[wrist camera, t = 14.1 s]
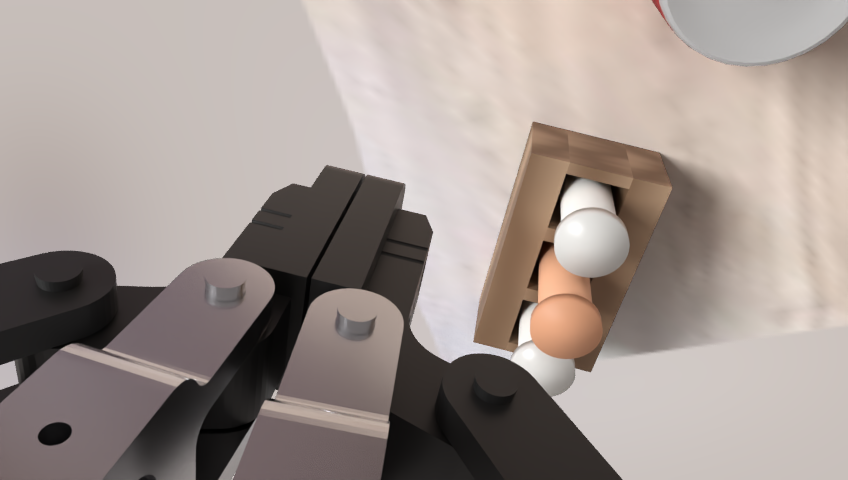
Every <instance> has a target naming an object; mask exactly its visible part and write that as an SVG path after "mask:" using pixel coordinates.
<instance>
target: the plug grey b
mask: <svg viewBox="0 0 848 480" xmlns="http://www.w3.org/2000/svg"><path fill="white" fill-rule="evenodd" d="M560 206H561V222H560V223H559V225H558V226H557V228H556V231H555V235H554V251H555V255H556V258H557V260H558V262H559V263H560V264H561V266H562V267H563V268H565V269H566V270H567V271H569V272H570V273H572V274H575V275H577V276H581V277H587V278H595V277H601V276H604V275H607V274H610V273H612V272H613V271H615V270H616V269H618V268H619V267H620V266H621V265H622V264H623V262H624V261H625V260H626V258H627V256H628V253H629V246H630V243H629V237H628V232H627V229H626V227H625V224H624V223H623V221H622V220H621V219H620V218H619V217H618V216H617V215H616V212H615V207H614V201H613V196H612V191H611V185H610V184H606V183H602V182H598V181H594V180H590V179H585V178H581V177H577V176H573V175H569V174H566V176H565V178H564V181H563V184H562V187H561V190H560Z"/></svg>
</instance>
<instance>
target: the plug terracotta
mask: <svg viewBox="0 0 848 480" xmlns="http://www.w3.org/2000/svg"><path fill="white" fill-rule="evenodd" d="M602 334H603V328H602V320H601V315H600V313H599V311H598V309H597V308H596V306H595V305H594V304H593V303H592V296H591V286H590V278H587V277H581V276H577V275H575V274H572V273H570V272H569V271H567V270H566V269H565V268H563V267H562V266H561V264H560V263H559V262H558V260H557V258H556V255H555V251H554V243H552V242H548V241H544V240H543V243H542V246H541V248H540V251H539V280H538V304H537V306H536V307H535V308H534V310H533V312H532V314H531V319H530V335H531V338H532V341H533V342H534V344H535V345H536V346H537V348H538V349H540V350H541V351H542V352H544V353H545V354H547V355H549V356H552V357H555V358H560V359H574V358H579V357H582V356H584V355H587V354H588V353H590V352H591V351H593V350H594V349H595V348H596V347H597V346H598V344H599V343H600V341H601V338H602Z"/></svg>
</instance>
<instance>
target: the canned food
mask: <svg viewBox="0 0 848 480" xmlns="http://www.w3.org/2000/svg"><path fill="white" fill-rule="evenodd" d="M652 1H653V3H654V4H655V6H656V7H657V9H658V10H659V12H660V13H661V15H662V16H663V18H664V19H665V21H666V22H667V24H668V25H669V26H670V28H671V29H672V30H673V31H674V33H675V34H676V35H677V36H678V37H679V38H680V39H681V40H682V41H683V42H684V43H685V44H687V45H688V46H689V47H690V48H692V49H693V50H695V51H697V52H698V53H700V54H702V55H704V56H705V57H707V58H709V59H712V60H715V61H718V62H721V63H725V64H729V65H737V66H746V67H747V66H764V65H770V64H774V63H779V62H783V61H787V60H789V59H792V58H794V57H797V56H799V55H802V54H804V53H807V52H808V51H810V50H812V49H813V48H815V47H817V46H818V45H820V44H822V43H823V42H825V41H826V40H827V39H829V38H830V37H831V36H832V35H833V34H835V33H836V32H837V31H838V30H839V29H841V28H842V27H843V26H844V25H845V24H846V22H847V21H848V0H652Z"/></svg>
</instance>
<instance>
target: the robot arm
mask: <svg viewBox="0 0 848 480" xmlns="http://www.w3.org/2000/svg"><path fill="white" fill-rule="evenodd" d="M404 193H405V184H404V183H400V182H396V181H392V180H387V179H383V178H379V177H375V176H371V175H367V176H366V177H365V174H362V173H358V172H354V171H349V170H345V169H341V168H337V167H333V166H328V165H327V166H326V167H325V168H324V169H323V171H322V172H321V173H320V175H319V176H318V178H317V179H316V181H315V182H314V184H313V185H312V187H311V188H310V187H305V186H301V185H297V184H291V185H289V186H287V187H285V188H283V189H281V190H279V191H277V192H274V193H273V194H272V195H271V196H270V197H269V199H268V200H267V201H266V202H265V204H264V205H263V206H262V208H261V211H259V212H258V213H257V214H256V215H255V217H254V218H253V219H252V223H249V224H248V226H247V227H246V228H245V229H244V231H243V232H242V234H241V235H240V236H239V237H238V238H237V240H236V241H235V242H234V244H233V245H232V246H231V248H230V249H229V250H228V251H227V253H226V254H225V255H224V256H223V258H216V259H209V260H205V261H201V262H198V263H196V264H193V265H191V266H190V267H188V268H186V269H185V270H184V271H183V272H181V273H180V274H179V275H178V276H177V277H176V278H175V279H174V280H173V281H172V282H171V283H170V284H169V285H168V286H167V287H136V286H117V284H116V274H115V270H114V268H113V266H112V265H111V264H110V263H109V262H108V261H106V260H105V259H103V258H101V257H99V256H97V255H94V254H90V253H86V252H80V251H56V252H48V253H43V254H39V255H35V256H30V257H26V258H22V259H18V260H14V261H10V262H6V263H2V264H0V365H2V364H5V363H8V362H11V361H14V360H15V366H16V371H17V376H18V382H19V384H16V385H14V386H10V387H8V388H5V389H2V390H0V480H231V479H232V477H233V476H234V478H233V480H622V479H621V477H620V476H619V475H618V474H617V473H616V472H615V470H614V469H613V468H612V467H611V466H610V465H609V464H608V462H607V461H606V460H605V459H604V458H603V457H602V455H601V454H600V453H599V452H598V451H597V450H596V449H595V447H594V446H593V445H592V444H591V443H590V442H589V440H587V438H586V437H585V436H584V435H583V434H582V432H581V431H580V430H579V429H578V428H577V427H576V425H575V424H574V423H573V422H572V421H571V420H570V419H569V418H568V416H567V415H566V414H565V413H564V412H563V410H562V409H561V408H560V407H559V406H558V405H557V404H556V402H555V401H554V400H553V399H552V398H551V397H550V395H549V394H548V393H547V392H546V391H545V390H544V389H543V387H542V386H541V385H540V384H539V383H538V382H537V380H536V379H535V378H534V377H533V376H532V375H531V374H530V373H529V372H528V371H526V370H525V369H524V368H523V367H521V366H520V365H518V364H516V363H515V362H512V361H510V360H508V359H506V358H503V357H500V356H496V355H491V354H470V355H465V356H462V357H459V358H458V359H456V360H454V361H453V362H452V363H448V362H446V361H444V360H442V359H440V358H439V357H437V356H435V355H433V354H432V353H430V352H429V351H428V350H426V349H425V348H424V347H423V346H422V345H421V344H420V343H419V342H418V341H417V339H416V338H415V337H414V335H413V333H412V331H411V329H410V325H411V321H412V317H413V314H414V310H415V306H416V303H417V299H418V295H419V291H420V287H421V282H422V278H423V273H424V269H425V265H426V260H427V256H428V251H429V247H430V243H431V238H432V234H433V231H432V229H431V226H430V224H429V222H428V219H427V217H426V215H422V214H418V213H414V212H409V211H405V210H401V209H402V203H403V198H404ZM275 389H276V390H278V392H277V395H276V397H275V399H271V397H272V395H273V393H274V391H275ZM235 472H236V473H235ZM234 474H235V475H234Z"/></svg>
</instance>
